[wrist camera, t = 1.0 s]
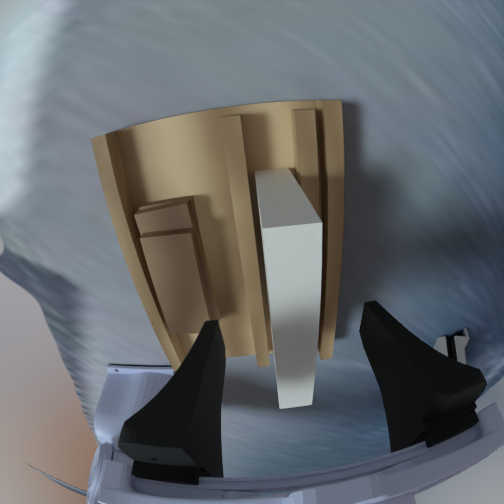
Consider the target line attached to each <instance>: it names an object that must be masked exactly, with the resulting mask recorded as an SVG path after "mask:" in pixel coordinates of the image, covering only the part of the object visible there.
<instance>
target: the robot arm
mask: <svg viewBox="0 0 504 504" xmlns="http://www.w3.org/2000/svg"><path fill="white" fill-rule="evenodd" d="M359 332H360V336H361V340H362V343H363V347H364V350H365V352H366V355H367V357H368V360H369V362H370V364H371V367H372V369H373V372H374V374H375V377H376V379H377V382H378V385H379V388H380V391H381V395H382V399H383V403H384V408H385V413H386V418H387V424H388V430H389V437H390V447H391V453H390V454H386V455H383V456H380V457H376V458H373V459H369V460H365V461H361V462H357V463H353V464H349V465H344V466H340V467H335V468H330V469H324V470H318V471H312V472H305V473H298V474H289V475H280V476H267V477H247V478H224V477H223V464H222V446H221V402H222V393H223V384H224V375H225V366H226V353H225V344H224V340H223V337H222V333H221V329H220V325H219V322H218V320H209V321H205V322H204V324H203V326H202V328H201V330H200V332H199V334H198V336H197V338H196V340H195V342H194V344H193V345H192V347H191V349H190V351H189V352H188V354H187V356H186V357H185V359H184V360H183V362H182V363H181V365H180V366H179V368H178V369H177V371H174V370H173V368H172V367H138V366H116V365H107V366H106V370H107V372H108V376H107V378H106V381H105V384H104V387H103V390H102V393H101V396H100V399H99V402H98V405H97V408H96V411H95V415H94V428H95V433H96V435H97V437H98V439H99V441H100V442H101V443H102V444H101V445H99V446H98V448H97V450H96V453H95V456H94V459H93V463H92V466H91V470H90V475H89V481H88V492H87V504H416V502H415V498H414V495H415V494H418V493H420V492H422V491H424V490H427V489H429V488H431V487H433V486H435V485H437V484H440V483H442V482H444V481H445V480H447V479H449V478H451V477H453V476H455V475H457V474H459V473H461V472H462V471H464V470H466V469H468V468H469V467H471V466H473V465H474V464H476V463H478V462H479V461H481V460H483V459H484V458H486V457H487V456H489V455H490V454H492V453H493V452H494V451H495V450H497V449H498V448H499V447H501V446H502V445H503V444H504V419H503V416H502V414H501V412H500V410H499V408H498V406H497V404H496V403H493V404H491V405H489V406H488V407H486V408H484V409H482V410H481V411H479V412H478V413H477V414H476V412H475V410H474V409H476V407H477V406H476V404H475V401H476V399H477V398H478V397H479V396H480V395H481V393H482V392H483V391H484V389H485V388H486V385H487V382H486V380H485V378H484V376H483V374H482V373H481V371H480V369H477V368H474V367H471V366H468V365H466V364H463V363H461V362H458V361H456V360H454V359H452V358H450V357H448V356H446V355H444V354H442V353H440V352H439V351H437V350H435V349H434V348H432V347H431V346H429V345H428V344H426V343H425V342H423V341H422V340H420V339H419V338H418V337H416V336H415V335H414V334H413V333H411V332H410V331H409V330H408V329H406V328H405V327H404V326H403V325H402V324H401V323H400V322H398V321H397V320H396V319H395V318H394V317H393V316H392V315H391V314H390V313H389V312H388V311H386V310H385V309H384V308H383V307H382V306H381V305H380V304H379V303H378V302H377V301H370V302H365V303H364V309H363V314H362V320H361V325H360V330H359ZM377 472H381V473H377ZM302 488H303V489H302ZM294 489H300V490H296V491H293V492H287V493H281V494H273V495H264V496H260V494H259V493H256V492H273V491H285V490H294Z"/></svg>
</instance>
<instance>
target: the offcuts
mask: <svg viewBox="0 0 504 504" xmlns="http://www.w3.org/2000/svg"><path fill="white" fill-rule="evenodd" d="M134 217H135V220H136V223H137V225H138V228H139V231H140V234H141V237H140V241H141V245H142V248H143V252H144V255H145V259H146V262H147V265H148V269H149V272H150V275H151V278H152V282H153V285H154V288H155V291H156V294H157V297H158V300H159V303H160V306H161V309H162V311H163V314H164V317H165V320H166V323H167V325H168V328H169V331H170V333H171V334H196V333H199V332H200V330H201V328H202V326H203V324H204V322H205V321H209V320H218V322H219V323H220V320H221V311H220V308H219V305H218V301H217V298H216V295H215V292H214V288H213V285H212V282H211V278H210V274H209V270H208V265H207V261H206V257H205V252H204V247H203V243H202V238H201V234H200V229H199V224H198V219H197V214H196V209H195V205H194V199H193V195H191V196H184V197H178V198H172V199H165V200H159V201H154V202H148V203H142V204H141V206H140V207H139V210H138V211H137V212H136V213H135V214H134Z"/></svg>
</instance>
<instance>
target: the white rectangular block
mask: <svg viewBox="0 0 504 504" xmlns="http://www.w3.org/2000/svg"><path fill="white" fill-rule="evenodd" d="M254 172H255V180H256V189H257V198H258V207H259V216H260V225H261V235H262V244H263V254H264V263H265V273H266V282H267V292H268V302H269V312H270V322H271V332H272V341H273V350H274V360H275V370H276V379H277V389H278V399H279V409H284V408H292V407H300V406H307V405H312V399H313V390H314V381H315V371H316V360H317V348H318V334H319V319H320V300H321V274H322V221H321V220H320V218H319V216H318V215H317V213H316V211H315V210H314V208H313V206H312V205H311V203H310V201H309V200H308V198H307V197H306V195H305V193H304V192H303V190H302V189H301V187H300V185H299V184H298V182H297V181H296V179H295V178H294V176H293V175H292V173H291V171H290V170H289V168H280V169H270V170H260V171H254Z"/></svg>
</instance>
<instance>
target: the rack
mask: <svg viewBox="0 0 504 504" xmlns="http://www.w3.org/2000/svg"><path fill="white" fill-rule="evenodd" d="M91 141H92V146H93V151H94V155H95V159H96V164H97V168H98V172H99V176H100V180H101V184H102V187H103V191H104V195H105V198H106V202H107V205H108V209H109V212H110V215H111V219H112V222H113V225H114V228H115V231H116V234H117V237H118V240H119V243H120V246H121V249H122V252H123V255H124V258H125V260H126V263H127V266H128V269H129V271H130V274H131V276H132V279H133V282H134V284H135V287H136V289H137V292H138V294H139V297H140V299H141V301H142V304H143V306H144V308H145V311H146V313H147V315H148V318H149V320H150V322H151V324H152V327H153V329H154V331H155V333H156V335H157V337H158V340H159V342H160V344H161V346H162V348H163V350H164V352H165V354H166V356H167V358H168V360H169V362H170V364H171V366H172V368H173V370H174V371H177V369H178V368H179V366H180V365H181V363H182V362H183V360H184V359H185V357H186V356H187V354H188V352H189V351H190V349H191V347H192V345H193V344H194V342H195V340H196V338H197V336H198V334H199V333H196V334H171V333H170V331H169V328H168V325H167V323H166V320H165V317H164V314H163V311H162V309H161V306H160V303H159V300H158V297H157V294H156V291H155V288H154V285H153V282H152V278H151V275H150V272H149V269H148V265H147V262H146V259H145V255H144V252H143V248H142V245H141V241H140V237H141V234H140V231H139V228H138V225H137V223H136V220H135V217H134V214H135V213H136V212H137V211H138V210H139V207H140V206H141V204H142V203H148V202H154V201H159V200H165V199H172V198H178V197H184V196H191V195H193V199H194V205H195V209H196V214H197V219H198V224H199V229H200V234H201V238H202V243H203V247H204V252H205V257H206V261H207V265H208V270H209V274H210V278H211V282H212V285H213V288H214V292H215V295H216V298H217V301H218V305H219V308H220V311H221V320H220V323H219V325H220V329H221V333H222V337H223V340H224V344H225V353H226V357H234V356H247V355H256V357H257V363H258V367H263V366H270V360H269V353H274V350H273V341H272V332H271V322H270V312H269V302H268V292H267V282H266V273H265V263H264V254H263V244H262V235H261V225H260V216H259V207H258V198H257V189H256V180H255V172H254V171H260V170H270V169H280V168H289V170H290V171H291V173H292V175H293V176H294V178H295V179H296V181H297V182H298V184H299V185H300V187H301V189H302V190H303V192H304V193H305V195H306V197H307V198H308V200H309V201H310V203H311V205H312V206H313V208H314V210H315V211H316V213H317V215H318V216H319V218H320V220H321V221H322V274H321V300H320V319H319V334H318V352H319V356H320V360H323V359H329V358H332V352H333V345H334V337H335V330H336V321H337V312H338V303H339V292H340V280H341V267H342V251H343V231H344V136H343V116H342V101H341V100H308V101H286V102H271V103H260V104H250V105H241V106H233V107H225V108H218V109H212V110H206V111H200V112H194V113H189V114H184V115H179V116H174V117H169V118H164V119H160V120H156V121H152V122H147V123H143V124H140V125H136V126H132V127H128V128H125V129H121V130H118V131H114V132H111V133H108V134H105V135H101V136H98V137H95V138H92V139H91Z"/></svg>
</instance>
